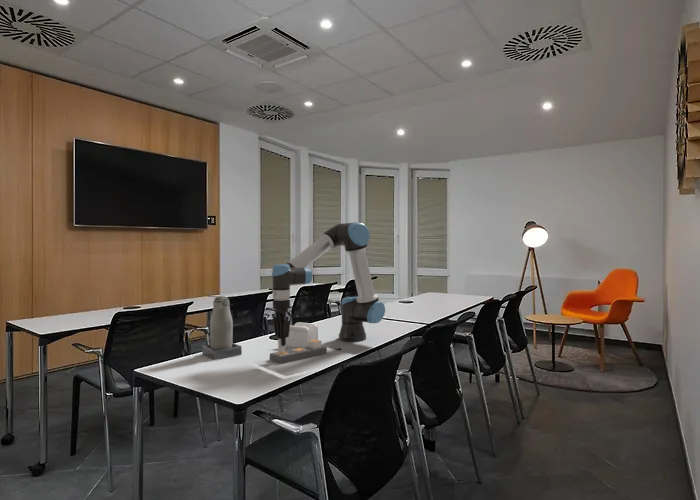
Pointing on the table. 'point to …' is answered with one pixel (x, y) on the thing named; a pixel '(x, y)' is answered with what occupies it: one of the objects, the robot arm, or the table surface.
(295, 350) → the button
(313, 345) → the button
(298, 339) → the cable organizer
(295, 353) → the power strip
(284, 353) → the button
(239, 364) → the table surface
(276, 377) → the table surface
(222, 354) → the bottle coaster rim
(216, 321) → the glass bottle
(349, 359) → the table surface
